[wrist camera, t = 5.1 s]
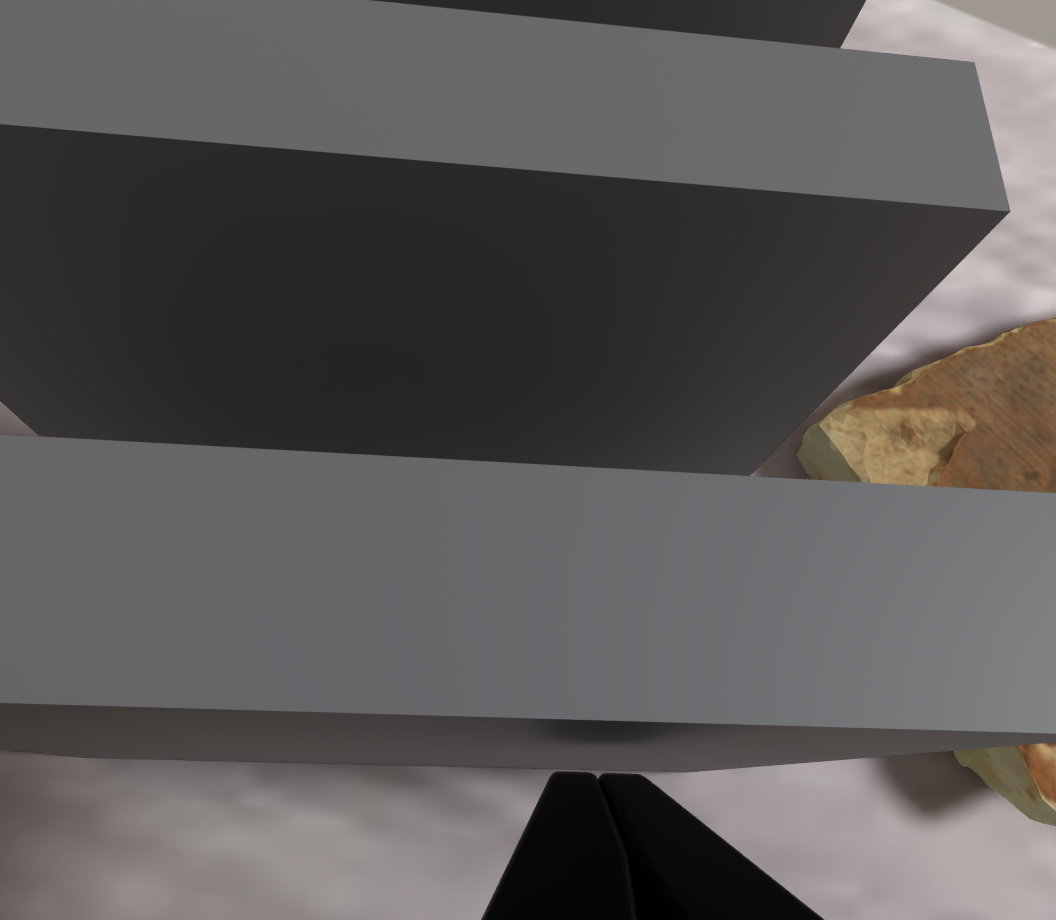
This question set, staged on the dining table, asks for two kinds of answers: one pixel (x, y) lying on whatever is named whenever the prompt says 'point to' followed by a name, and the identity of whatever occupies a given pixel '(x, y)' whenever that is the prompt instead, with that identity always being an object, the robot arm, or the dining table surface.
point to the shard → (961, 473)
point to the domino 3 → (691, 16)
